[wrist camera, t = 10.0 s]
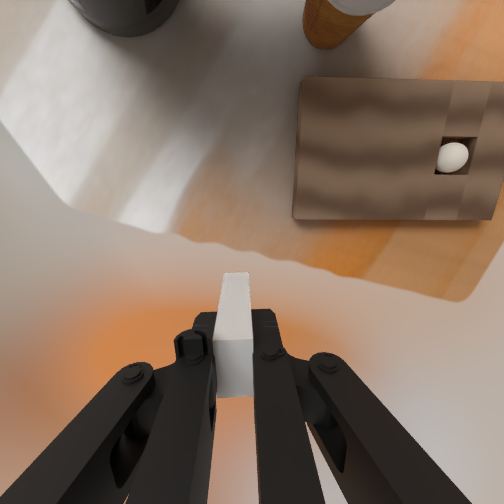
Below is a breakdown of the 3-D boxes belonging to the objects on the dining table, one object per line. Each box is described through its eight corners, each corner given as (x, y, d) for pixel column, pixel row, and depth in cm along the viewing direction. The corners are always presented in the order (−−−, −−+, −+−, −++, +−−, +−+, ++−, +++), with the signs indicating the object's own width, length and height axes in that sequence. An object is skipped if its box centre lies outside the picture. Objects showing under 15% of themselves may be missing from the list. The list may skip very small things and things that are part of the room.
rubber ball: (426, 147, 37) (454, 133, 33) (447, 154, 38) (477, 141, 34) (424, 172, 36) (451, 162, 32) (445, 179, 37) (474, 169, 33)
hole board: (299, 83, 33) (304, 76, 31) (512, 89, 34) (532, 82, 32) (291, 216, 39) (295, 219, 36) (476, 217, 40) (491, 220, 37)
